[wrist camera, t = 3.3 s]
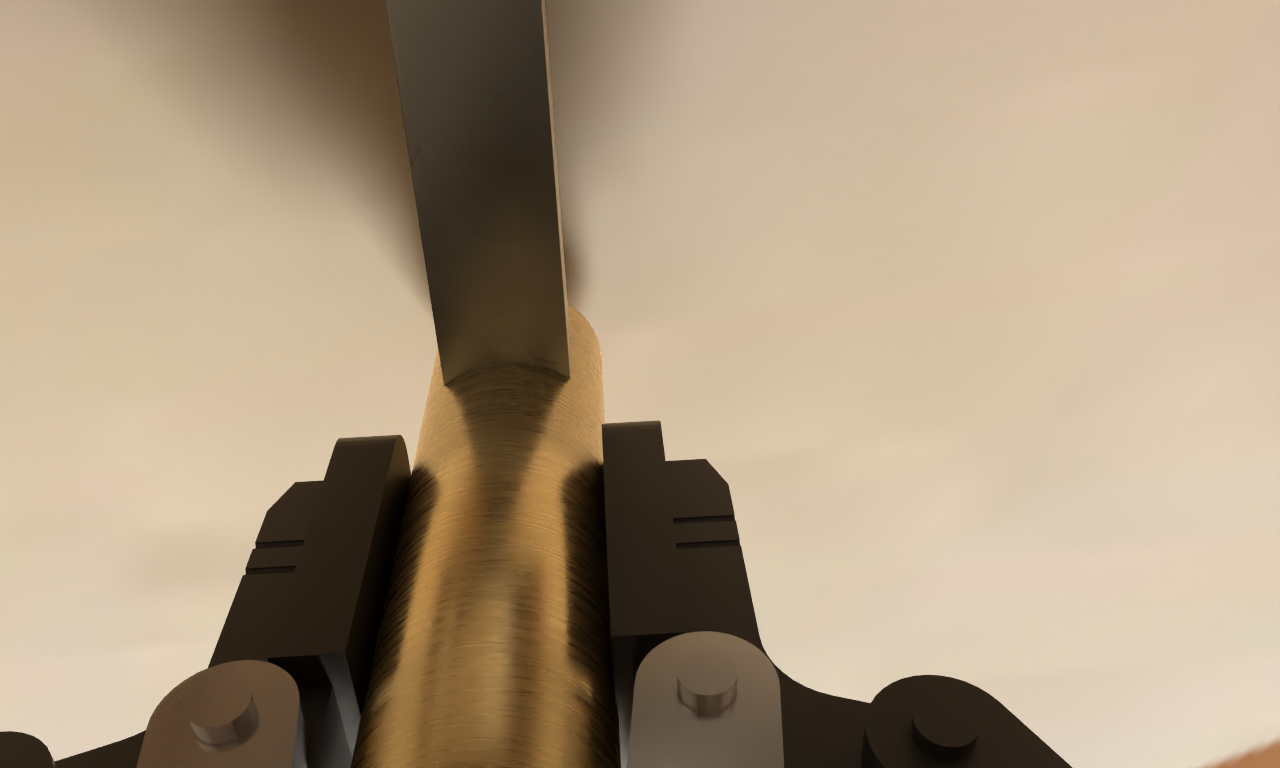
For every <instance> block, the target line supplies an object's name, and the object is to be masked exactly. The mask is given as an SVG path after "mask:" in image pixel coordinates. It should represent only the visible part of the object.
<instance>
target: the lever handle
mask: <svg viewBox="0 0 1280 768" xmlns="http://www.w3.org/2000/svg"><path fill="white" fill-rule="evenodd" d="M385 2H386V9H387V15H388V22H389V28H390V35H391V41H392V48H393V55H394V61H395V68H396V74H397V81H398V87H399V94H400V100H401V107H402V114H403V120H404V127H405V133H406V140H407V146H408V153H409V160H410V166H411V173H412V179H413V186H414V192H415V199H416V205H417V212H418V219H419V225H420V232H421V238H422V245H423V251H424V258H425V264H426V271H427V278H428V284H429V291H430V297H431V304H432V310H433V317H434V324H435V330H436V337H437V343H438V351H437V355H436V360H435V365H434V370H433V375H432V379H431V384H430V389H429V394H428V399H427V403H426V408H425V413H424V418H423V422H422V427H421V432H420V437H419V442H418V446H417V451H416V456H415V461H414V465H413V470H412V475H411V480H410V485H409V489H408V494H407V499H406V504H405V509H404V513H403V518H402V523H401V528H400V532H399V537H398V542H397V547H396V552H395V556H394V561H393V566H392V571H391V575H390V580H389V585H388V590H387V595H386V599H385V604H384V609H383V614H382V619H381V623H380V628H379V633H378V638H377V642H376V647H375V652H374V657H373V662H372V666H371V671H370V676H369V681H368V686H367V690H366V695H365V700H364V705H363V709H362V714H361V719H360V724H359V729H358V733H357V738H356V743H355V748H354V752H353V757H352V762H351V767H350V768H621V753H620V732H619V718H618V711H617V707H616V705H615V696H614V680H613V664H612V648H611V630H610V607H609V584H608V561H607V538H606V515H605V493H604V470H603V447H602V424H605V422H604V401H603V380H602V360H601V351H600V346H599V342H598V339H597V337H596V335H595V332H594V330H593V329H592V327H591V326H590V324H589V322H588V321H587V320H586V319H585V318H584V317H583V315H582V314H581V313H580V312H578V311H577V310H576V309H575V308H574V307H572V306H571V305H570V304H568V302H567V289H566V275H565V262H564V249H563V236H562V222H561V209H560V196H559V182H558V169H557V156H556V142H555V129H554V116H553V103H552V89H551V76H550V63H549V49H548V36H547V23H546V9H545V0H385Z"/></svg>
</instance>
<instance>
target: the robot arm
mask: <svg viewBox="0 0 1280 768" xmlns="http://www.w3.org/2000/svg"><path fill="white" fill-rule="evenodd" d="M602 447H603V470H604V493H605V515H606V538H607V561H608V584H609V607H610V630H611V648H612V664H613V680H614V696H615V705H616V707H617V711H618V718H619V732H620V753H621V768H1072V767H1071V766H1070V765H1069V764H1068V763H1067V762H1066V761H1064V760H1063V759H1062V758H1061V757H1060V756H1059V755H1058V754H1057V753H1056V752H1054V751H1053V750H1052V749H1051V748H1050V747H1049V746H1048V745H1047V744H1046V743H1044V742H1043V741H1042V740H1041V739H1040V738H1039V737H1038V736H1037V735H1036V734H1034V733H1033V732H1032V731H1031V730H1030V729H1029V728H1028V727H1027V726H1026V725H1024V724H1023V723H1022V722H1021V721H1020V720H1019V719H1018V718H1017V717H1016V716H1014V715H1013V714H1012V713H1011V712H1010V711H1009V710H1008V709H1007V708H1006V707H1004V706H1003V705H1002V704H1001V703H1000V702H999V701H997V700H996V699H995V698H994V697H992V696H991V695H990V694H988V693H987V692H985V691H983V690H982V689H980V688H978V687H976V686H974V685H972V684H969V683H967V682H965V681H961V680H958V679H955V678H951V677H945V676H939V675H920V676H912V677H908V678H903V679H901V680H898V681H896V682H893V683H891V684H890V685H888V686H887V687H885V688H884V689H882V690H881V691H880V692H879V693H878V694H877V695H876V696H875V698H874V699H873V701H872V702H871V703H866V702H861V701H856V700H852V699H847V698H842V697H837V696H832V695H828V694H825V693H821V692H818V691H815V690H812V689H810V688H807V687H805V686H803V685H801V684H799V683H798V682H796V681H794V680H792V679H791V678H790V677H788V676H787V675H786V674H784V673H783V672H782V671H781V670H780V669H779V668H778V667H777V666H776V665H774V663H773V662H772V661H771V659H770V658H769V657H768V655H767V654H766V652H765V650H764V648H763V646H762V643H761V640H760V637H759V632H758V627H757V622H756V617H755V612H754V607H753V603H752V598H751V593H750V588H749V583H748V578H747V573H746V568H745V564H744V559H743V554H742V549H741V546H740V539H739V534H738V529H737V525H736V521H735V517H734V510H733V505H732V500H731V495H730V490H729V486H728V484H727V482H726V481H725V480H724V479H723V478H722V477H721V476H720V475H719V473H718V472H717V471H716V470H715V469H714V468H713V467H712V466H711V464H710V463H709V462H708V461H707V460H706V459H696V460H679V461H665V454H664V446H663V438H662V430H661V423H660V421H644V422H626V423H609V424H602ZM410 480H411V471H410V465H409V460H408V454H407V449H406V445H405V442H404V439H403V437H402V436H401V435H390V436H373V437H355V438H340V439H338V440H337V442H336V444H335V447H334V450H333V453H332V456H331V459H330V462H329V466H328V469H327V472H326V475H325V478H324V481H309V482H295V483H294V484H293V485H292V486H291V487H290V488H289V489H288V490H287V491H286V492H285V493H284V494H283V495H282V497H281V498H280V499H279V500H278V501H277V502H276V503H275V504H274V505H273V506H272V507H271V508H270V509H269V510H268V511H267V513H266V516H265V518H264V521H263V524H262V526H261V529H260V532H259V534H258V537H257V540H256V542H255V543H256V548H255V549H253V550H252V553H251V555H250V558H249V561H248V563H247V566H246V575H243V577H242V579H241V582H240V584H239V587H238V590H237V592H236V595H235V598H234V600H233V603H232V606H231V608H230V611H229V613H228V616H227V619H226V621H225V624H224V627H223V629H222V632H221V635H220V637H219V640H218V642H217V645H216V648H215V650H214V653H213V656H212V658H211V661H210V664H209V666H208V668H207V669H205V670H203V671H201V672H198V673H196V674H195V675H193V676H191V677H189V678H188V679H186V680H184V681H183V682H182V683H180V684H179V685H178V686H176V687H175V688H174V689H173V690H172V691H171V692H170V693H169V694H167V695H166V696H165V697H164V699H163V700H162V701H161V702H160V703H159V705H158V706H157V707H156V709H155V711H154V712H153V714H152V716H151V718H150V720H149V723H148V726H147V729H146V730H145V731H143V732H141V733H139V734H137V735H135V736H132V737H129V738H127V739H124V740H121V741H118V742H115V743H112V744H109V745H106V746H103V747H99V748H96V749H93V750H90V751H87V752H84V753H81V754H77V755H74V756H71V757H68V758H65V759H62V760H59V761H55V762H54V760H53V758H52V756H51V754H50V752H49V750H48V748H47V746H46V745H45V744H44V743H43V742H42V741H41V740H39V739H37V738H35V737H34V736H31V735H28V734H25V733H20V732H11V731H9V732H0V768H350V767H351V762H352V757H353V752H354V748H355V743H356V738H357V733H358V729H359V724H360V719H361V714H362V709H363V705H364V700H365V695H366V690H367V686H368V681H369V676H370V671H371V666H372V662H373V657H374V652H375V647H376V642H377V638H378V633H379V628H380V623H381V619H382V614H383V609H384V604H385V599H386V595H387V590H388V585H389V580H390V575H391V571H392V566H393V561H394V556H395V552H396V547H397V542H398V537H399V532H400V528H401V523H402V518H403V513H404V509H405V504H406V499H407V494H408V489H409V485H410Z"/></svg>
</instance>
